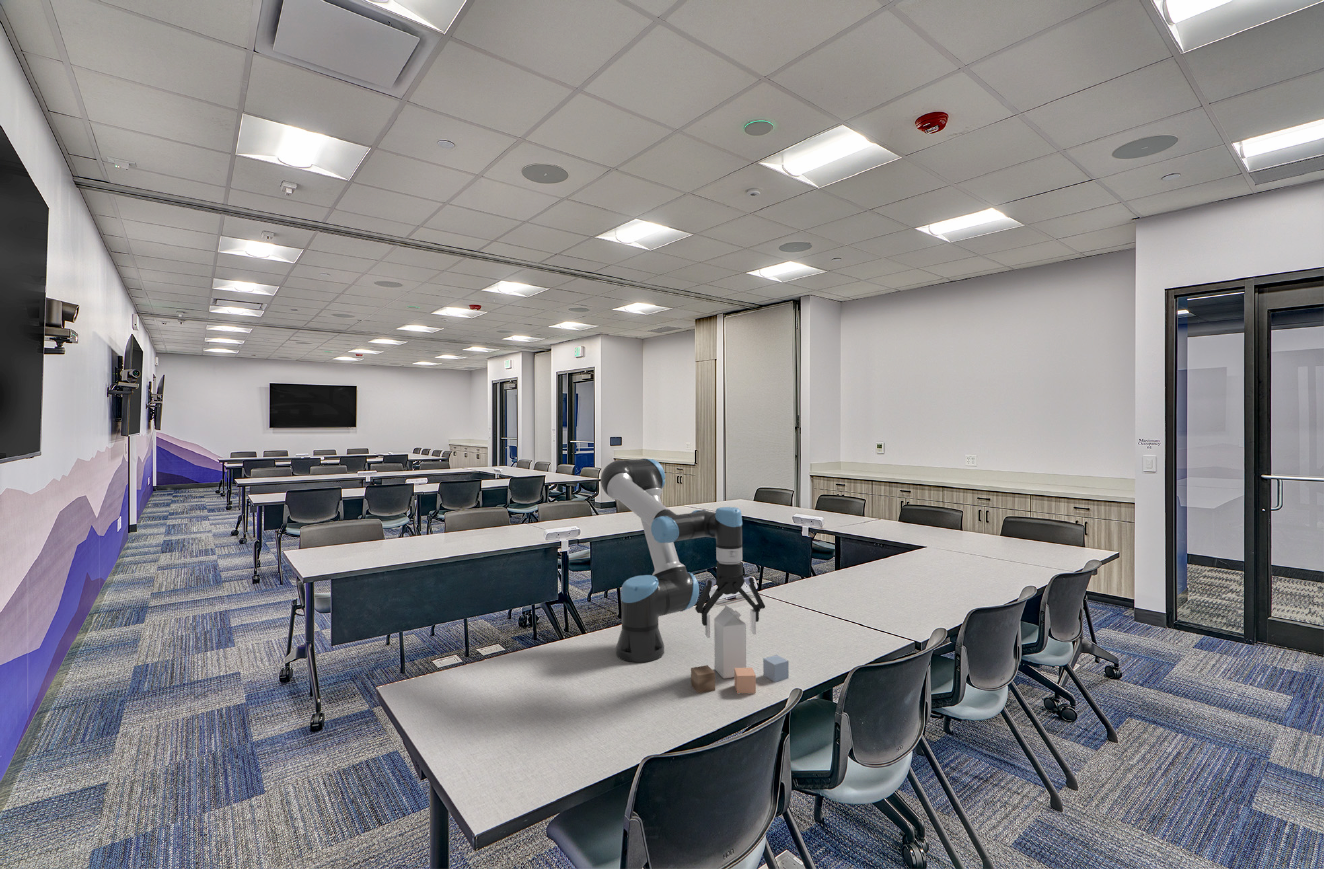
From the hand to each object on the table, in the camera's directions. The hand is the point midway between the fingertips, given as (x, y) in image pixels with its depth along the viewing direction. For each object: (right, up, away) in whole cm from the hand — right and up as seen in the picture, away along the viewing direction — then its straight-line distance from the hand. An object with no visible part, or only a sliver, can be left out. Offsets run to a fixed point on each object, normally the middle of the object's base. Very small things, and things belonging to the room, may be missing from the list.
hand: (730, 634), depth 167 cm
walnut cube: (-9, -12, -9) cm, 17 cm away
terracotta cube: (+3, -12, -10) cm, 16 cm away
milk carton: (0, -11, 0) cm, 11 cm away
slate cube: (+13, -11, -3) cm, 17 cm away
